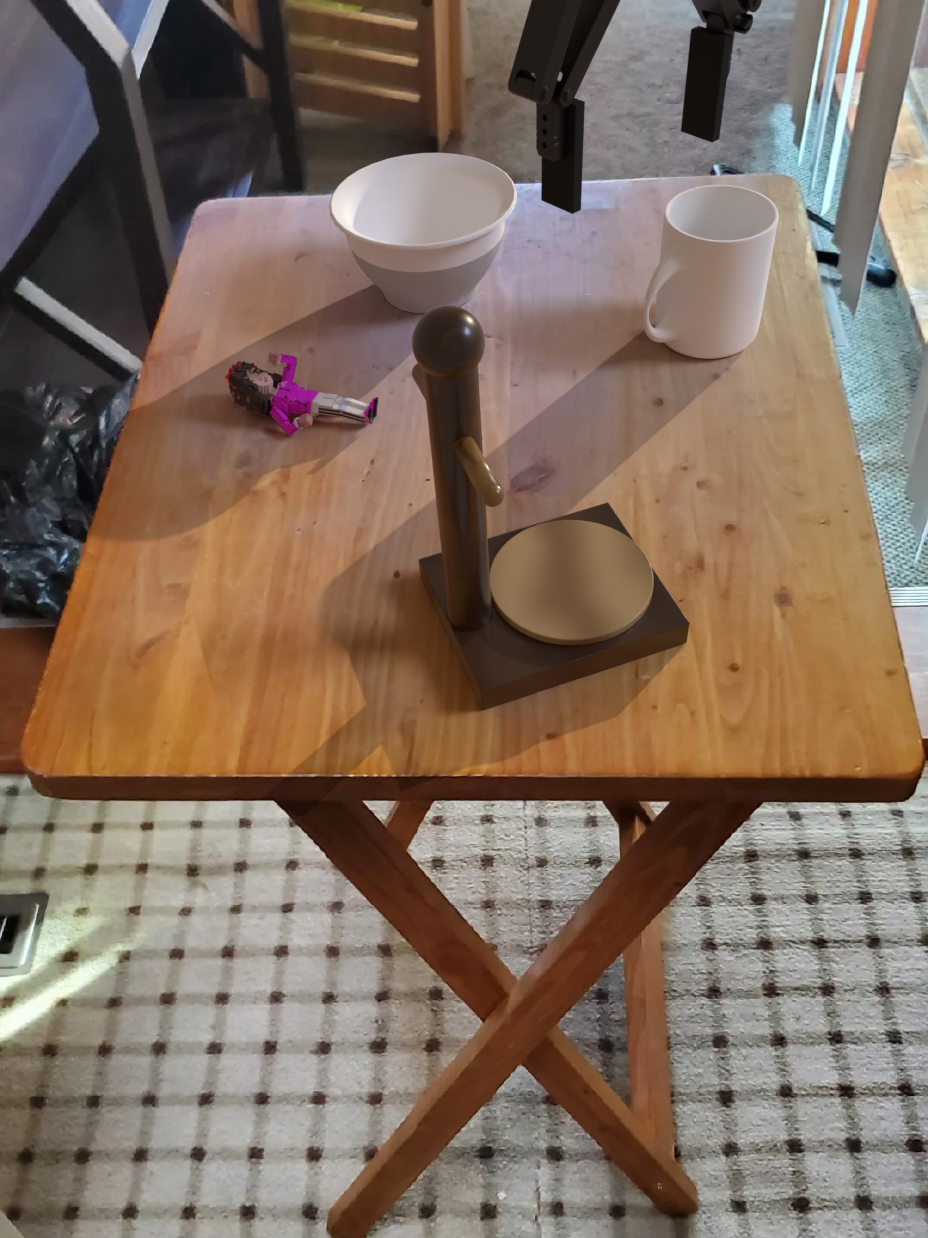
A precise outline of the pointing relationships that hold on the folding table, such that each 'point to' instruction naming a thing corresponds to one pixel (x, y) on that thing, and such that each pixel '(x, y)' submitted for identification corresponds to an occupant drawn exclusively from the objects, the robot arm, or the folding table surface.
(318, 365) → the folding table surface
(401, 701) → the folding table surface
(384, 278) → the bowl
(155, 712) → the folding table surface
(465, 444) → the mug stand
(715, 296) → the mug
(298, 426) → the character figurine
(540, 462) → the folding table surface
